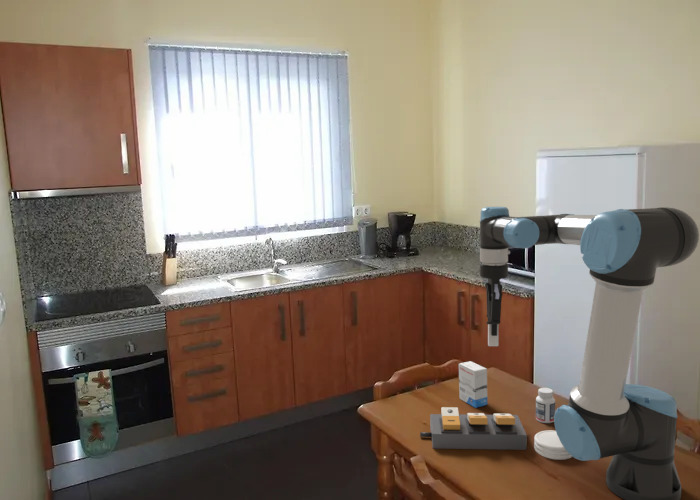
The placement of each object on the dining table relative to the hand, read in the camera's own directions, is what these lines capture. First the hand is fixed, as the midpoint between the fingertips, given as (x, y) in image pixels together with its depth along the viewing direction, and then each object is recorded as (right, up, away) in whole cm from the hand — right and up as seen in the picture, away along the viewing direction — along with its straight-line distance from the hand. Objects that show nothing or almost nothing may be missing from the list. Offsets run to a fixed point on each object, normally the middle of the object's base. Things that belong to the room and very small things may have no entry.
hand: (493, 345), depth 164 cm
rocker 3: (0, -18, -10) cm, 20 cm away
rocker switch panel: (-8, -24, -7) cm, 26 cm away
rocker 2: (-7, -18, -9) cm, 21 cm away
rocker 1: (-14, -18, -9) cm, 24 cm away
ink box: (-2, -20, +17) cm, 26 cm away
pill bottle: (+16, -22, +3) cm, 27 cm away
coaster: (+12, -25, -14) cm, 31 cm away
